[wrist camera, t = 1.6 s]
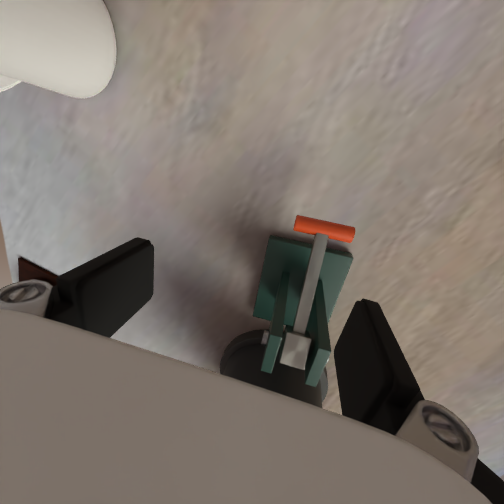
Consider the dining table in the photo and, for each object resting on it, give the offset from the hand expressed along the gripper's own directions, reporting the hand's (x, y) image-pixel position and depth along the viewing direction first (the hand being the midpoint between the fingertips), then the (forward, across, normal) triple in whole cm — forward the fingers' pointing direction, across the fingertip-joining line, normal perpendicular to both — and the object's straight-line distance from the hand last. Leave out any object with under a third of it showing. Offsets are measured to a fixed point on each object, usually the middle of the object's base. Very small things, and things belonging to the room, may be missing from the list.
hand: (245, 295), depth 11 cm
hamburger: (+20, +37, +26) cm, 49 cm away
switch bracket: (+19, -4, +10) cm, 22 cm away
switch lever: (+11, -4, +5) cm, 13 cm away
